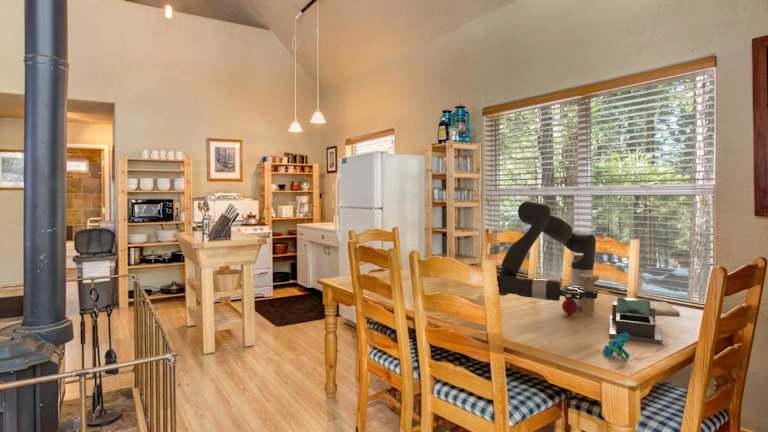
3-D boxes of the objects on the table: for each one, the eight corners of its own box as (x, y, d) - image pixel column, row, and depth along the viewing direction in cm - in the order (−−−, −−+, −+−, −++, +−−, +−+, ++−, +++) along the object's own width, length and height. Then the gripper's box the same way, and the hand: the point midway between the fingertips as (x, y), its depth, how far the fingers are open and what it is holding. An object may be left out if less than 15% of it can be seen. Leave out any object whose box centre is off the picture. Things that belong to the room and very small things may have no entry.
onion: (576, 314, 192) (576, 295, 192) (577, 317, 187) (577, 298, 187) (561, 312, 194) (562, 294, 194) (562, 316, 189) (562, 297, 188)
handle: (597, 320, 158) (598, 277, 157) (577, 317, 161) (578, 276, 160) (598, 316, 163) (599, 275, 162) (578, 314, 166) (579, 273, 165)
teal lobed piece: (602, 343, 150) (626, 326, 146) (615, 357, 149) (641, 340, 144) (600, 358, 141) (626, 340, 136) (614, 373, 139) (642, 356, 135)
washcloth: (665, 307, 207) (665, 300, 206) (681, 317, 189) (681, 310, 189) (636, 305, 209) (637, 298, 209) (649, 315, 192) (649, 308, 192)
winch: (609, 337, 161) (610, 309, 161) (610, 318, 186) (610, 294, 186) (661, 344, 154) (662, 315, 153) (655, 323, 179) (656, 298, 178)
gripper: (543, 283, 161) (597, 288, 154) (548, 276, 174) (598, 280, 166) (543, 303, 162) (596, 309, 154) (548, 295, 174) (597, 300, 167)
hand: (597, 294), depth 160 cm, fingers closed on handle, 3 cm apart
